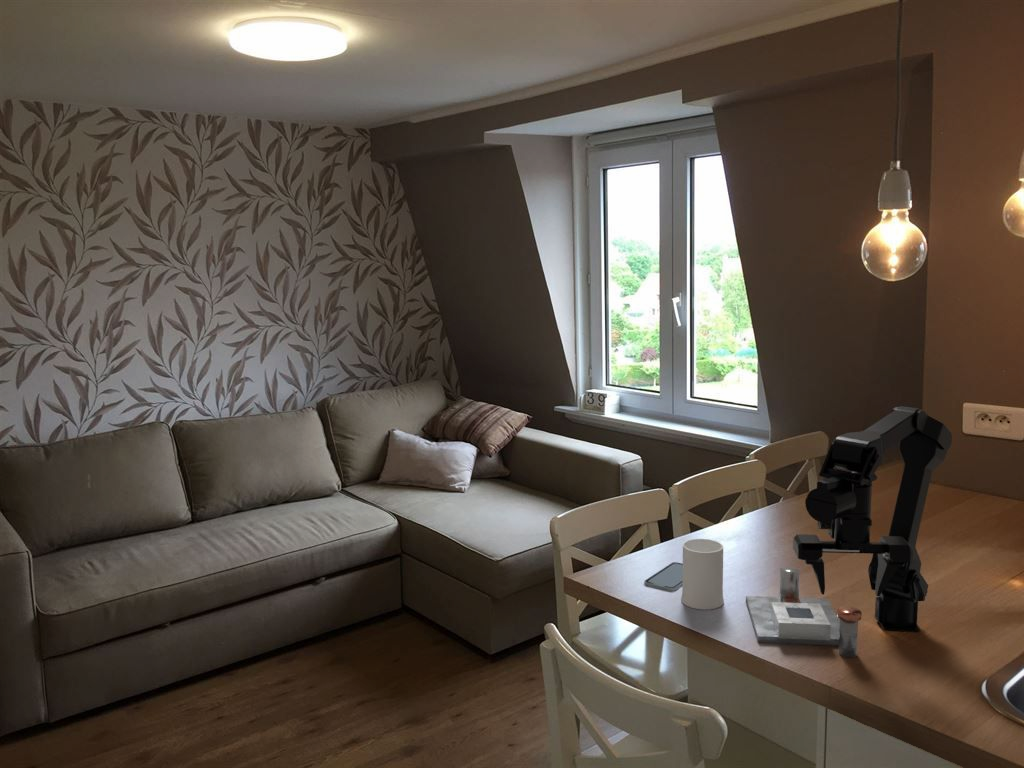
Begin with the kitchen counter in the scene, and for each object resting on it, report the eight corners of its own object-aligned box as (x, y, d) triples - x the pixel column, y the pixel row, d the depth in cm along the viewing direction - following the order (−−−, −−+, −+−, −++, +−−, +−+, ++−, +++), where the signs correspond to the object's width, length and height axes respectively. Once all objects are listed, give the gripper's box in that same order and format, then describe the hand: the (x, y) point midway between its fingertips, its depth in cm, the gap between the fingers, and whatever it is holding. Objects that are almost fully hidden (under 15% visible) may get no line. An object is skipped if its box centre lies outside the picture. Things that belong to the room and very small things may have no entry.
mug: (696, 584, 182) (696, 531, 180) (734, 592, 177) (735, 537, 175) (674, 604, 172) (674, 548, 170) (715, 613, 168) (715, 555, 166)
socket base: (827, 604, 170) (828, 565, 169) (850, 647, 152) (851, 604, 151) (745, 601, 173) (746, 563, 171) (758, 643, 155) (759, 601, 153)
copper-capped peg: (856, 648, 152) (858, 606, 150) (862, 659, 148) (864, 616, 146) (833, 648, 152) (834, 606, 151) (838, 658, 148) (839, 615, 147)
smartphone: (703, 568, 190) (673, 589, 178) (703, 572, 190) (673, 593, 178) (673, 561, 194) (642, 581, 183) (673, 565, 195) (642, 585, 183)
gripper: (896, 495, 152) (892, 578, 155) (788, 494, 155) (786, 575, 157) (916, 515, 141) (911, 603, 144) (799, 513, 144) (797, 600, 147)
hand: (849, 594), depth 148 cm, fingers open, 9 cm apart
